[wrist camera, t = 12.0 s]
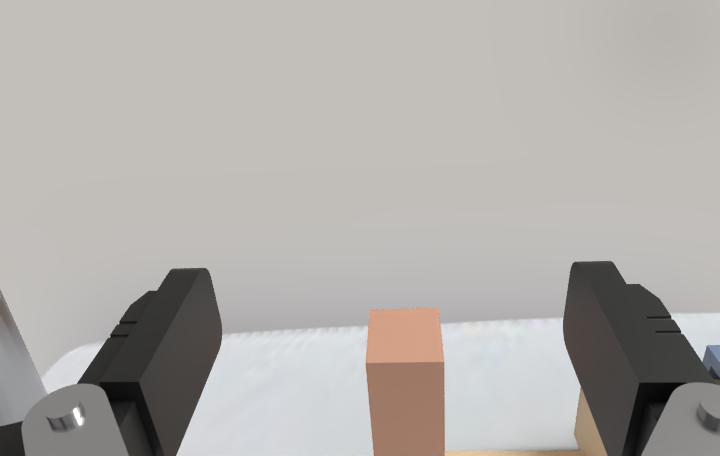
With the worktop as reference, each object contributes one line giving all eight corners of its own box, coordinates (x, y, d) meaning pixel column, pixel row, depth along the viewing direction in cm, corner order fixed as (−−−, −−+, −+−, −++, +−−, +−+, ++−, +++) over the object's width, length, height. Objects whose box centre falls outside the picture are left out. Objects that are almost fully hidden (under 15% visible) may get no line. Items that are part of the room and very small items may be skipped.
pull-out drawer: (378, 568, 29) (361, 400, 23) (382, 434, 36) (370, 284, 31) (856, 577, 27) (960, 396, 21) (754, 433, 34) (812, 272, 29)
